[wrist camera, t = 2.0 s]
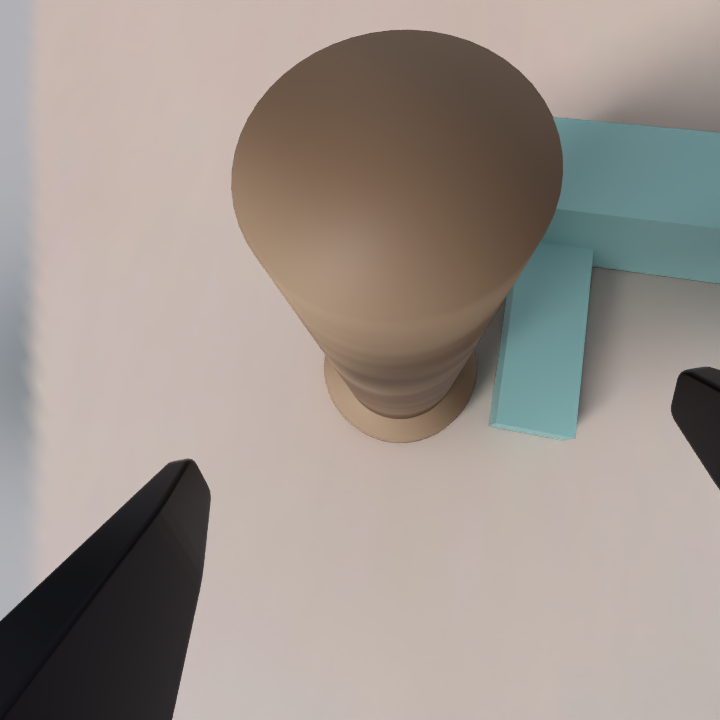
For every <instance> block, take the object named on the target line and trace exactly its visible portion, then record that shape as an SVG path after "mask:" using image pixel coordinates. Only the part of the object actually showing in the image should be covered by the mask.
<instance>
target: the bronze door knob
mask: <svg viewBox="0 0 720 720" xmlns="http://www.w3.org/2000/svg"><path fill="white" fill-rule="evenodd" d="M562 179H563V153H562V147H561V142H560V136H559V133H558V130H557V127H556V124H555V121H554V119H553V116H552V114H551V112H550V110H549V109H548V107H547V105H546V103H545V101H544V99H543V98H542V97H541V95H540V94H539V93H538V91H537V90H536V88H535V87H534V86H533V84H532V83H531V82H530V81H529V80H528V79H527V78H526V77H525V76H524V75H523V74H522V73H521V72H520V71H519V70H518V69H516V68H515V67H514V66H512V65H511V64H510V63H509V62H507V61H506V60H505V59H503V58H502V57H500V56H498V55H497V54H495V53H493V52H492V51H490V50H488V49H486V48H484V47H482V46H480V45H477V44H475V43H473V42H471V41H468V40H465V39H461V38H458V37H455V36H452V35H447V34H442V33H437V32H431V31H419V30H390V31H382V32H375V33H369V34H365V35H361V36H356V37H352V38H349V39H346V40H344V41H341V42H338V43H335V44H333V45H330V46H328V47H326V48H324V49H322V50H320V51H318V52H316V53H314V54H312V55H311V56H309V57H307V58H306V59H304V60H302V61H301V62H299V63H298V64H297V65H295V66H294V67H293V68H291V69H290V70H289V71H287V72H286V73H285V74H284V75H283V76H282V77H281V78H279V79H278V80H277V81H276V82H275V83H274V84H273V85H272V86H271V87H270V88H269V90H268V91H267V92H266V93H265V94H264V96H263V97H262V98H261V99H260V101H259V102H258V103H257V105H256V106H255V108H254V110H253V111H252V113H251V114H250V116H249V117H248V119H247V122H246V124H245V126H244V128H243V130H242V132H241V134H240V137H239V141H238V144H237V147H236V150H235V154H234V160H233V166H232V184H231V190H232V198H233V206H234V210H235V214H236V217H237V221H238V224H239V227H240V229H241V231H242V233H243V236H244V238H245V240H246V242H247V244H248V245H249V247H250V249H251V250H252V252H253V253H254V255H255V256H256V258H257V259H258V261H259V262H260V264H261V265H262V266H263V268H264V269H265V271H266V272H267V273H268V275H269V276H270V278H271V279H272V280H273V282H274V283H275V285H276V286H277V287H278V289H279V290H280V292H281V293H282V295H283V296H284V297H285V299H286V300H287V302H288V303H289V304H290V306H291V307H292V309H293V310H294V311H295V313H296V314H297V316H298V317H299V318H300V320H301V321H302V323H303V324H304V325H305V327H306V328H307V330H308V331H309V332H310V334H311V335H312V337H313V338H314V340H315V341H316V342H317V344H318V345H319V347H320V348H321V349H322V351H323V352H324V354H325V362H324V374H325V380H326V385H327V388H328V392H329V394H330V397H331V399H332V401H333V403H334V404H335V406H336V408H337V409H338V411H339V412H340V413H341V414H342V415H343V417H344V418H345V419H346V420H347V421H349V422H350V423H351V424H352V425H353V426H354V427H356V428H357V429H359V430H360V431H362V432H363V433H365V434H367V435H369V436H371V437H373V438H376V439H379V440H382V441H387V442H394V443H408V442H414V441H419V440H422V439H425V438H428V437H431V436H433V435H435V434H437V433H438V432H440V431H441V430H443V429H444V428H446V427H447V426H448V425H449V424H450V423H451V422H453V421H454V420H455V419H456V418H457V417H458V415H459V414H460V413H461V412H462V411H463V409H464V408H465V406H466V405H467V403H468V401H469V399H470V397H471V395H472V392H473V389H474V386H475V381H476V375H477V360H476V353H475V347H476V345H477V344H478V342H479V340H480V339H481V337H482V336H483V334H484V332H485V331H486V329H487V327H488V326H489V324H490V323H491V321H492V319H493V318H494V316H495V314H496V313H497V311H498V310H499V308H500V306H501V305H502V303H503V301H504V300H505V298H506V297H507V295H508V293H509V292H510V290H511V288H512V287H513V285H514V284H515V282H516V280H517V279H518V277H519V275H520V274H521V272H522V271H523V269H524V267H525V266H526V264H527V262H528V261H529V259H530V258H531V256H532V254H533V253H534V251H535V249H536V248H537V246H538V245H539V243H540V241H541V240H542V238H543V236H544V235H545V233H546V231H547V229H548V227H549V225H550V223H551V221H552V218H553V216H554V214H555V211H556V208H557V204H558V201H559V197H560V194H561V187H562Z"/></svg>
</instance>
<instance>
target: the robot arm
mask: <svg viewBox="0 0 720 720" xmlns="http://www.w3.org/2000/svg"><path fill="white" fill-rule="evenodd" d="M671 412H672V416H673V419H674V420H675V422H676V424H677V425H678V427H679V428H680V430H681V431H682V433H683V435H684V436H685V438H686V439H687V441H688V442H689V444H690V445H691V447H692V448H693V450H694V452H695V453H696V455H697V456H698V458H699V459H700V461H701V462H702V464H703V465H704V467H705V469H706V470H707V472H708V473H709V475H710V476H711V478H712V479H713V481H714V482H715V484H716V485H717V487H718V488H719V490H720V370H718V369H715V368H711V367H700V368H694V369H688V370H685V371H683V372H681V373H680V375H679V376H678V379H677V383H676V387H675V392H674V396H673V400H672V404H671ZM210 501H211V495H210V490H209V487H208V485H207V483H206V481H205V479H204V477H203V475H202V474H201V472H200V470H199V468H198V466H197V464H196V463H195V461H193V460H192V459H183V460H178V461H173V462H170V463H168V464H167V465H166V466H165V467H164V468H163V469H162V470H161V471H160V472H158V473H157V474H156V475H155V476H154V477H153V478H152V479H151V480H150V481H149V482H148V483H147V484H146V485H145V486H144V487H143V488H141V489H140V490H139V491H138V492H137V493H136V494H135V495H134V496H133V497H132V498H131V499H130V500H129V501H128V502H127V503H126V504H124V505H123V506H122V507H121V508H120V509H119V510H118V511H117V512H116V513H115V514H114V515H113V516H112V517H111V518H110V519H109V520H107V521H106V522H105V523H104V524H103V525H102V526H101V527H100V528H99V529H98V530H97V531H96V532H95V533H94V534H93V535H91V536H90V537H89V538H88V539H87V540H86V541H85V542H84V543H83V544H82V545H81V546H80V547H79V548H78V549H77V550H76V551H74V552H73V553H72V554H71V555H70V556H69V557H68V558H67V559H66V560H65V561H64V562H63V563H62V564H61V565H60V566H59V567H57V568H56V569H55V570H54V571H53V572H52V573H51V574H50V575H49V576H48V577H47V578H46V579H45V580H44V581H43V582H41V583H40V584H39V585H38V586H37V587H36V588H35V589H34V590H33V591H32V592H31V593H30V594H29V595H28V596H27V597H26V598H24V599H23V600H22V601H21V602H20V603H19V604H18V605H17V606H16V607H15V608H14V609H13V610H12V611H11V612H10V613H9V614H7V615H6V617H4V618H3V619H2V620H1V621H0V720H172V718H173V713H174V709H175V704H176V699H177V695H178V690H179V685H180V681H181V676H182V671H183V667H184V662H185V657H186V653H187V648H188V643H189V639H190V634H191V629H192V624H193V620H194V615H195V610H196V606H197V601H198V596H199V592H200V587H201V581H202V576H203V568H204V559H205V550H206V540H207V530H208V521H209V511H210Z"/></svg>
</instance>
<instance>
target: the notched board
mask: <svg viewBox="0 0 720 720" xmlns="http://www.w3.org/2000/svg"><path fill="white" fill-rule="evenodd" d="M553 119H554V121H555V124H556V127H557V130H558V133H559V136H560V142H561V147H562V153H563V179H562V187H561V194H560V197H559V201H558V204H557V208H556V211H555V214H554V216H553V218H552V221H551V223H550V225H549V227H548V229H547V231H546V233H545V235H544V236H543V238H542V240H541V241H540V243H539V245H538V246H537V248H536V249H535V251H534V253H533V254H532V256H531V258H530V259H529V261H528V262H527V264H526V266H525V267H524V269H523V271H522V272H521V274H520V275H519V277H518V279H517V280H516V282H515V284H514V285H513V287H512V288H511V290H510V292H509V293H508V295H507V297H506V304H505V311H504V319H503V326H502V333H501V340H500V348H499V355H498V362H497V369H496V377H495V384H494V391H493V398H492V406H491V413H490V420H489V426H490V427H495V428H500V429H505V430H511V431H516V432H521V433H527V434H532V435H537V436H542V437H548V438H553V439H558V440H566V439H573V438H575V437H576V427H577V417H578V406H579V396H580V386H581V375H582V365H583V354H584V344H585V334H586V323H587V313H588V303H589V292H590V282H591V271H592V266H593V267H601V268H608V269H615V270H623V271H630V272H637V273H645V274H652V275H659V276H667V277H674V278H681V279H689V280H696V281H703V282H711V283H718V284H720V133H719V132H709V131H698V130H687V129H676V128H666V127H655V126H644V125H633V124H623V123H612V122H601V121H590V120H580V119H569V118H558V117H553Z"/></svg>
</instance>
